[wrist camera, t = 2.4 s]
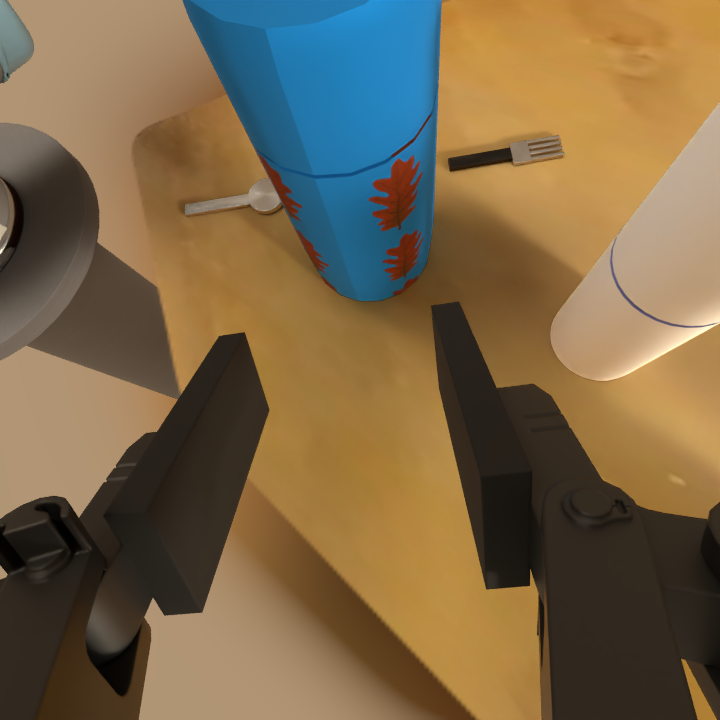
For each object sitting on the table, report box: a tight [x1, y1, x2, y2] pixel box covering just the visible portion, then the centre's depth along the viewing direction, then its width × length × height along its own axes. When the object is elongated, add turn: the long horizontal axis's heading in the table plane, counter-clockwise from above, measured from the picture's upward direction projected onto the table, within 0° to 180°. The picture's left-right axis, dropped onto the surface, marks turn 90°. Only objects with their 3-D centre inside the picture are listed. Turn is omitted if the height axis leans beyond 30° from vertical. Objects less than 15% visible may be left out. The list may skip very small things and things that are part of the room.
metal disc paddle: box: [185, 178, 283, 217], centre depth 44 cm, size 10×4×1 cm, turn 96°
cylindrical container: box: [550, 102, 720, 381], centre depth 25 cm, size 7×7×25 cm
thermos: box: [183, 0, 442, 301], centre depth 29 cm, size 11×11×25 cm
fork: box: [448, 135, 564, 171], centre depth 42 cm, size 10×2×1 cm, turn 96°
